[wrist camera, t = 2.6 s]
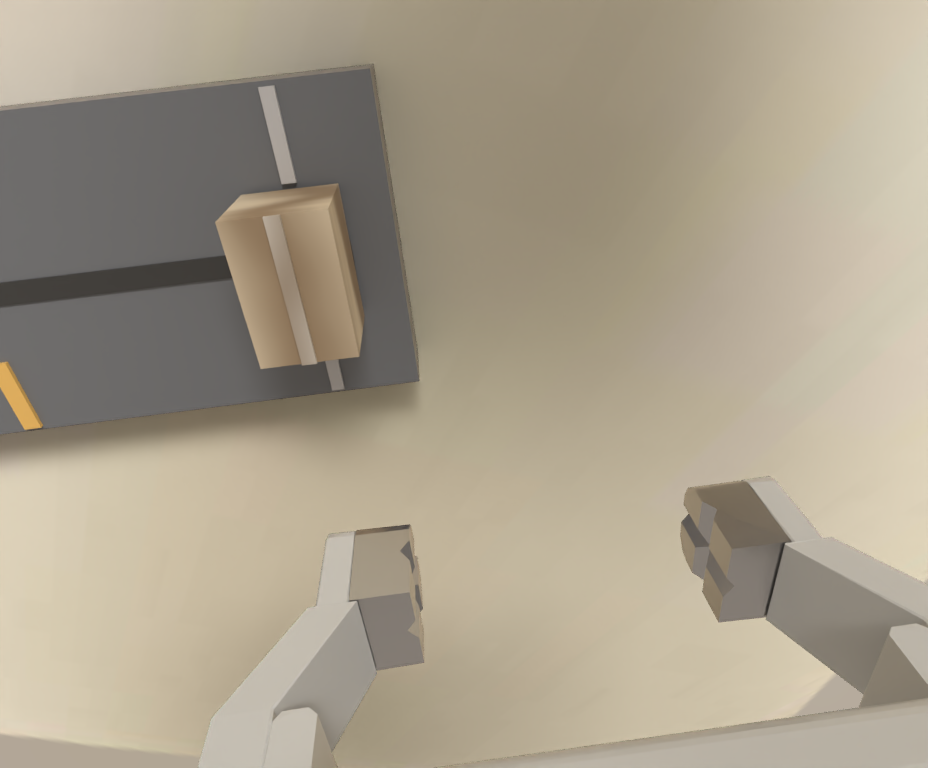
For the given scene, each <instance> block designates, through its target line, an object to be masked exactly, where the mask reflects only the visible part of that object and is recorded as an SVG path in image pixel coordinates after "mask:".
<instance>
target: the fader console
mask: <svg viewBox="0 0 928 768" xmlns="http://www.w3.org/2000/svg"><path fill="white" fill-rule="evenodd" d="M337 183H338V184H339V189H340V194H341V199H342V204H343V209H344V214H345V219H346V224H347V229H348V234H349V239H350V244H351V249H352V254H353V260H354V265H355V270H356V275H357V280H358V285H359V290H360V295H361V300H362V305H363V310H364V315H365V317H364V325H363V333H362V340H361V348H360V355H359V357H353V358H345V359H337V360H329V361H321V362H317V364H311V365H303V366H302V364H297V365H289V366H281V367H273V368H265V369H261V368H260V365H259V362H258V359H257V355H256V352H255V349H254V346H253V343H252V339H251V336H250V333H249V330H248V326H247V323H246V320H245V317H244V314H243V310H242V307H241V304H240V301H239V298H238V294H237V291H236V288H235V285H234V281H233V278H232V275H231V272H230V269H229V265H228V262H227V259H226V256H225V253H224V249H223V246H222V243H221V240H220V236H219V233H218V230H217V227H216V224H215V222H216V221H217V220H218V219H219V218H220V217H221V216H222V214H223V213H224V212H225V211H226V210H227V209H228V208H229V207H230V206H231V205H232V204H233V203H234V202H235V201H236V200H237V199H238V198H239V197H240V195H244V194H253V193H261V192H269V191H278V190H286V189H295V188H303V187H311V186H320V185H328V184H337ZM416 381H419V366H418V350H417V344H416V337H415V331H414V324H413V318H412V311H411V305H410V298H409V292H408V285H407V279H406V272H405V266H404V260H403V253H402V247H401V240H400V234H399V227H398V221H397V214H396V208H395V201H394V195H393V188H392V182H391V175H390V169H389V162H388V156H387V149H386V143H385V136H384V130H383V123H382V117H381V110H380V104H379V97H378V91H377V84H376V78H375V71H374V65H373V64H368V65H359V66H350V67H342V68H333V69H324V70H315V71H307V72H298V73H289V74H281V75H272V76H263V77H254V78H246V79H237V80H228V81H219V82H211V83H202V84H193V85H184V86H176V87H167V88H158V89H149V90H141V91H132V92H123V93H115V94H106V95H97V96H88V97H80V98H71V99H62V100H53V101H45V102H36V103H27V104H18V105H10V106H1V107H0V434H7V433H15V432H23V431H31V430H39V429H47V428H54V427H62V426H70V425H78V424H86V423H94V422H102V421H110V420H117V419H125V418H133V417H141V416H149V415H157V414H165V413H172V412H180V411H188V410H196V409H204V408H212V407H220V406H228V405H235V404H243V403H251V402H259V401H267V400H275V399H283V398H290V397H298V396H306V395H314V394H322V393H330V392H338V391H345V390H353V389H361V388H369V387H377V386H385V385H393V384H401V383H408V382H416Z"/></svg>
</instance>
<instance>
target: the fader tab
mask: <svg viewBox="0 0 928 768" xmlns="http://www.w3.org/2000/svg"><path fill="white" fill-rule="evenodd" d="M215 224H216V227H217V230H218V233H219V236H220V240H221V243H222V246H223V249H224V253H225V256H226V259H227V262H228V265H229V269H230V272H231V275H232V278H233V281H234V285H235V288H236V291H237V294H238V298H239V301H240V304H241V307H242V310H243V314H244V317H245V320H246V323H247V326H248V330H249V333H250V336H251V339H252V343H253V346H254V349H255V352H256V355H257V359H258V362H259V365H260V368H261V369H265V368H273V367H281V366H289V365H297V364H302V366H303V365H311V364H317V362H321V361H329V360H337V359H345V358H353V357H359V355H360V348H361V340H362V333H363V325H364V317H365V315H364V310H363V305H362V300H361V295H360V290H359V285H358V280H357V275H356V270H355V265H354V260H353V254H352V249H351V244H350V239H349V234H348V229H347V224H346V219H345V214H344V209H343V204H342V199H341V194H340V189H339V184H338V183H337V184H328V185H320V186H311V187H303V188H295V189H286V190H278V191H269V192H261V193H253V194H244V195H240V197H239V198H238V199H237V200H236V201H235V202H234V203H233V204H232V205H231V206H230V207H229V208H228V209H227V210H226V211H225V212H224V213H223V214H222V216H221V217H220V218H219V219H218V220H217V221H216V222H215Z"/></svg>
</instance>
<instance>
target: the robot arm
mask: <svg viewBox="0 0 928 768" xmlns="http://www.w3.org/2000/svg"><path fill="white" fill-rule="evenodd" d="M684 506H685V507H686V509H687V511H688V513H689V514H688V515H687V516H686V518H685V519H684V520H683V521H682V522H681V533H680V537H681V543H682V550H683V553H684V556H685V559H686V561H687V563H688V565H689V567H690V569H691V571H692V573H694V574H696V575H697V576H699V577H700V578H702V579H703V580H704V583H703V590H702V592H703V594H704V596H705V598H706V600H707V602H708V604H709V605H710V607H711V609H712V611H713V613H714V615H715V617H716V618H717V620H718V622H726V621H735V620H744V619H753V618H763V617H766V620H767V621H769V622H770V623H771V624H773V625H774V626H775V627H776V628H778V629H779V630H780V631H782V632H783V633H784V634H786V635H787V636H788V637H789V638H791V639H792V640H793V641H795V642H796V643H797V644H799V645H800V646H801V647H802V648H804V649H805V650H806V651H808V652H809V653H810V654H812V655H813V656H814V657H815V658H817V659H818V660H819V661H821V662H822V663H823V664H825V665H826V666H827V667H828V668H830V669H831V670H832V671H834V672H835V673H836V674H838V675H839V676H840V677H841V678H843V679H844V680H845V681H847V682H848V683H849V684H851V685H852V686H853V687H854V688H856V689H857V690H859V691H860V692H861V693H862V694H864V695H863V698H862V700H861V703H860V705H859V708H852V709H845V710H839V711H832V712H824V713H818V714H810V715H803V716H796V717H789V718H782V719H775V720H768V721H761V722H754V723H747V724H740V725H733V726H726V727H719V728H712V729H705V730H698V731H691V732H684V733H677V734H670V735H663V736H655V737H648V738H641V739H634V740H627V741H620V742H613V743H606V744H598V745H591V746H584V747H577V748H570V749H563V750H556V751H549V752H542V753H534V754H527V755H520V756H513V757H506V758H499V759H492V760H485V761H478V762H471V763H464V764H456V765H449V766H442V767H435V768H928V584H926V583H924V582H922V581H920V580H918V579H916V578H913V577H911V576H909V575H907V574H905V573H903V572H901V571H899V570H897V569H895V568H893V567H891V566H889V565H887V564H885V563H883V562H881V561H879V560H877V559H875V558H873V557H871V556H869V555H867V554H865V553H863V552H861V551H859V550H857V549H855V548H853V547H851V546H849V545H847V544H845V543H843V542H841V541H839V540H836V539H834V538H832V537H829V538H823V537H822V536H821V534H820V533H819V532H818V531H817V530H816V528H815V527H814V526H813V525H812V524H811V522H810V521H809V520H808V519H807V517H806V516H805V515H804V514H803V513H802V511H801V510H800V509H799V508H798V507H797V505H796V504H795V503H794V502H793V501H792V499H791V498H790V497H789V496H788V495H787V493H786V492H785V491H784V490H783V489H782V487H781V486H780V485H779V484H778V483H777V481H776V480H775V479H773V478H771V477H770V476H766V477H759V478H752V479H745V480H741V481H733V482H726V483H719V484H712V485H704V486H697V487H690V488H688V489H687V491H686V493H685V498H684ZM422 609H423V602H422V587H421V577H420V569H419V563H418V558H417V556H415V554H414V537H413V532H412V528H411V525H401V526H392V527H383V528H373V529H364V530H357V531H352V532H342V533H332V534H329V535H328V537H327V539H326V543H325V549H324V556H323V562H322V569H321V575H320V582H319V589H318V595H317V602H316V606H314V607H308V608H307V609H306V610H305V611H304V612H303V613H302V614H301V616H300V617H299V618H298V619H297V620H296V621H295V623H294V624H293V625H292V626H291V627H290V628H289V629H288V631H287V632H286V633H285V634H284V635H283V636H282V638H281V639H280V640H279V641H278V642H277V643H276V644H275V646H274V647H273V648H272V649H271V650H270V651H269V652H268V654H267V655H266V656H265V657H264V658H263V659H262V661H261V662H260V663H259V664H258V665H257V666H256V667H255V669H254V670H253V671H252V672H251V673H250V674H249V676H248V677H247V678H246V679H245V680H244V681H243V682H242V684H241V685H240V686H239V687H238V688H237V689H236V690H235V692H234V693H233V694H232V695H231V696H230V697H229V699H228V700H227V701H226V702H225V703H224V704H223V705H222V707H221V708H220V709H219V710H218V711H217V712H216V713H215V715H214V716H213V717H212V718H211V722H210V725H209V729H208V732H207V736H206V739H205V743H204V747H203V750H202V754H201V757H200V761H199V765H198V768H338V767H337V765H336V762H335V759H334V757H333V754H332V751H333V749H334V748H335V746H336V744H337V742H338V741H339V739H340V737H341V735H342V734H343V732H344V730H345V728H346V727H347V725H348V723H349V721H350V720H351V718H352V716H353V714H354V713H355V711H356V709H357V708H358V706H359V704H360V702H361V701H362V699H363V697H364V695H365V694H366V692H367V690H368V688H369V687H370V685H371V683H372V681H373V680H374V678H375V676H376V674H377V672H376V670H382V669H388V668H394V667H401V666H407V665H413V664H419V663H424V631H423V625H422V619H421V614H420V612H421V610H422Z"/></svg>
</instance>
